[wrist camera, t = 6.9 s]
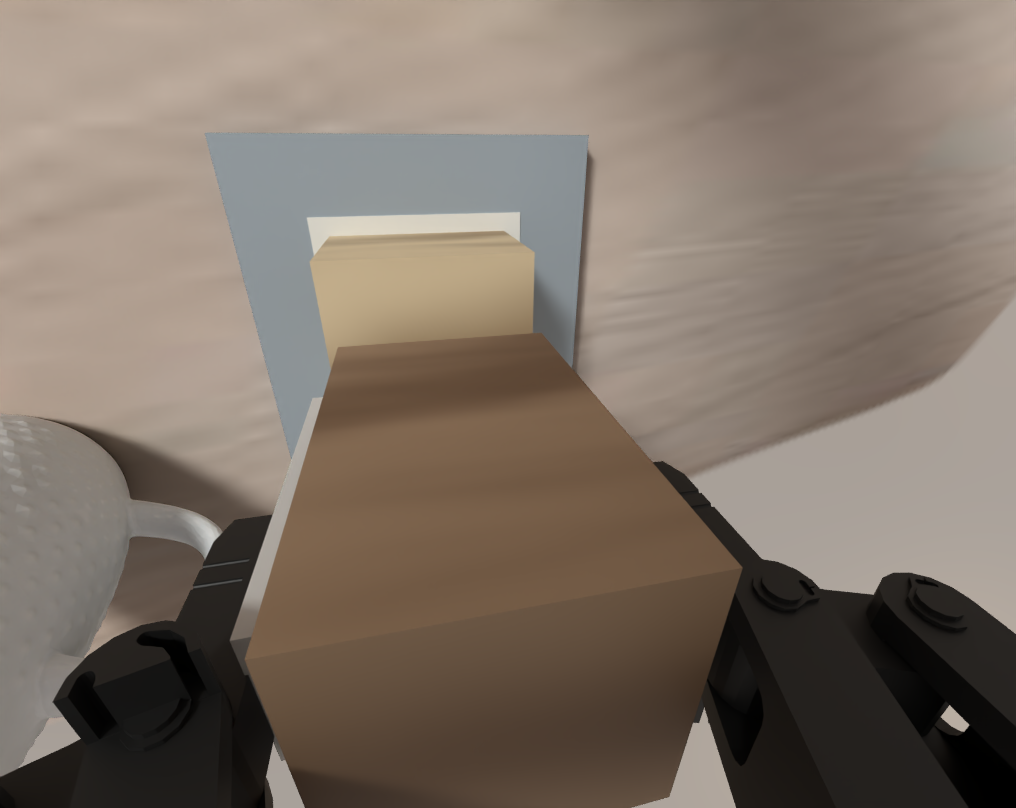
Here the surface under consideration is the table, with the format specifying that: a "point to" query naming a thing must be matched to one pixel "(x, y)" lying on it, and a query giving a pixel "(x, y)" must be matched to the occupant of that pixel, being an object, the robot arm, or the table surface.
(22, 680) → the mug
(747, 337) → the table surface
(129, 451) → the table surface
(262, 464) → the table surface
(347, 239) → the oak block
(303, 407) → the blueprint board
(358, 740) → the walnut block
